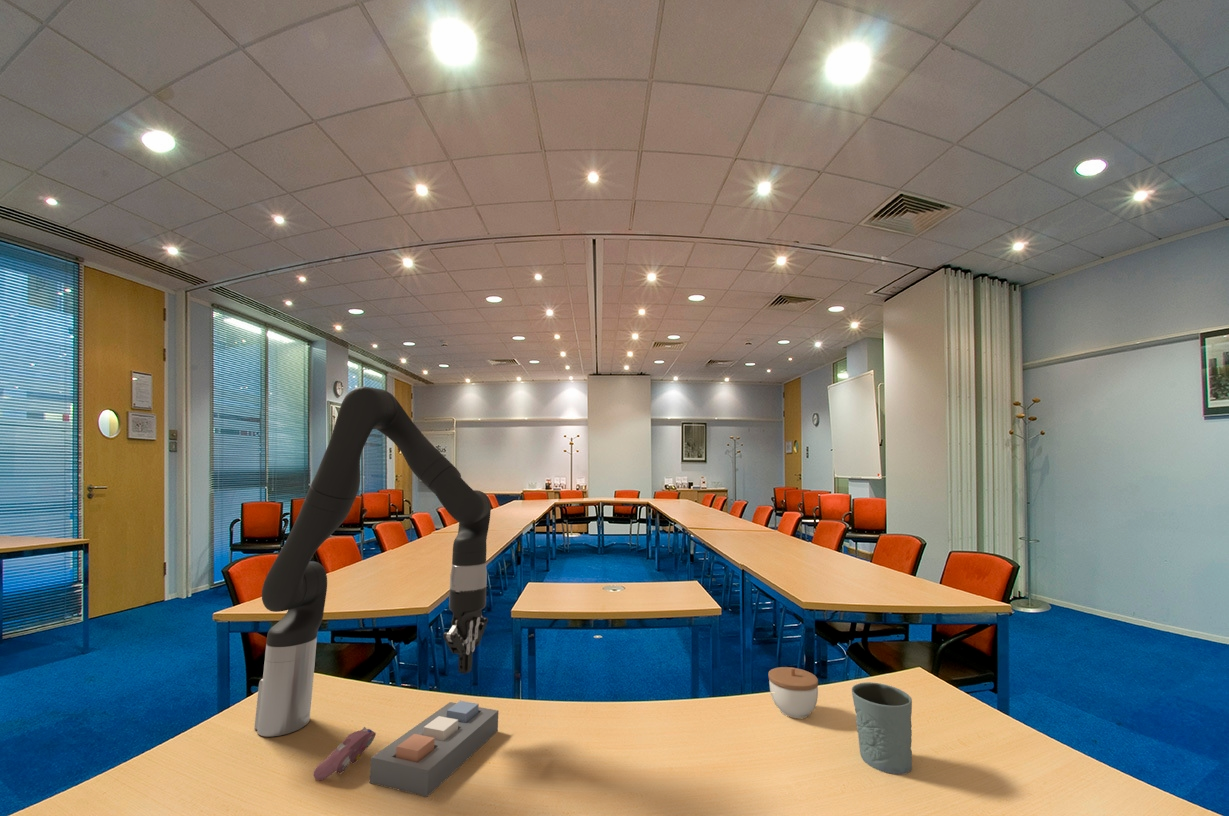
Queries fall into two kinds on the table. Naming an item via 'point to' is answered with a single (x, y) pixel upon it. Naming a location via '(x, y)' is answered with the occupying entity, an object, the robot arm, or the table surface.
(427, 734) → the off-white key
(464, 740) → the key console
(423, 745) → the terracotta key
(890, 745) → the grey embossed vase
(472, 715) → the slate blue key
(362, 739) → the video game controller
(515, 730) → the table surface
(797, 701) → the lidded jar
